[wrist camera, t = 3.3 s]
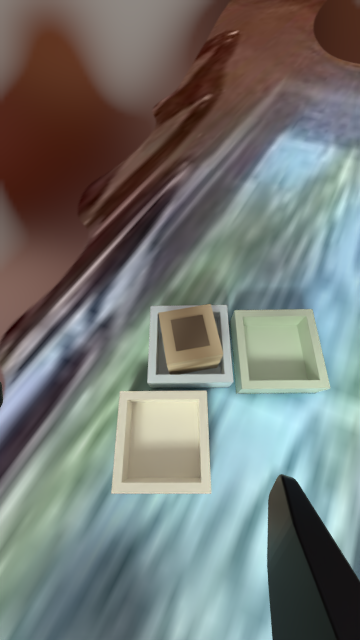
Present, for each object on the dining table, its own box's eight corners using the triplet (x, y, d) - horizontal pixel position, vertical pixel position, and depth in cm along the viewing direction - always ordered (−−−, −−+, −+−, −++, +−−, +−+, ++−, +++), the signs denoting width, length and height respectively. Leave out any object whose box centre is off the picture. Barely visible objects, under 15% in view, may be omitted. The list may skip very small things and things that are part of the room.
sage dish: (236, 393, 22) (242, 388, 19) (229, 321, 24) (234, 310, 22) (314, 393, 21) (330, 388, 19) (300, 321, 24) (312, 309, 22)
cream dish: (120, 486, 19) (111, 493, 17) (126, 395, 22) (119, 391, 19) (208, 486, 19) (211, 493, 17) (204, 395, 22) (206, 390, 19)
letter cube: (170, 376, 22) (166, 364, 18) (162, 331, 23) (158, 312, 20) (217, 367, 22) (223, 353, 18) (206, 324, 23) (210, 303, 20)
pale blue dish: (151, 388, 22) (147, 382, 20) (154, 317, 24) (150, 305, 22) (228, 387, 22) (233, 382, 19) (223, 316, 24) (226, 304, 22)
